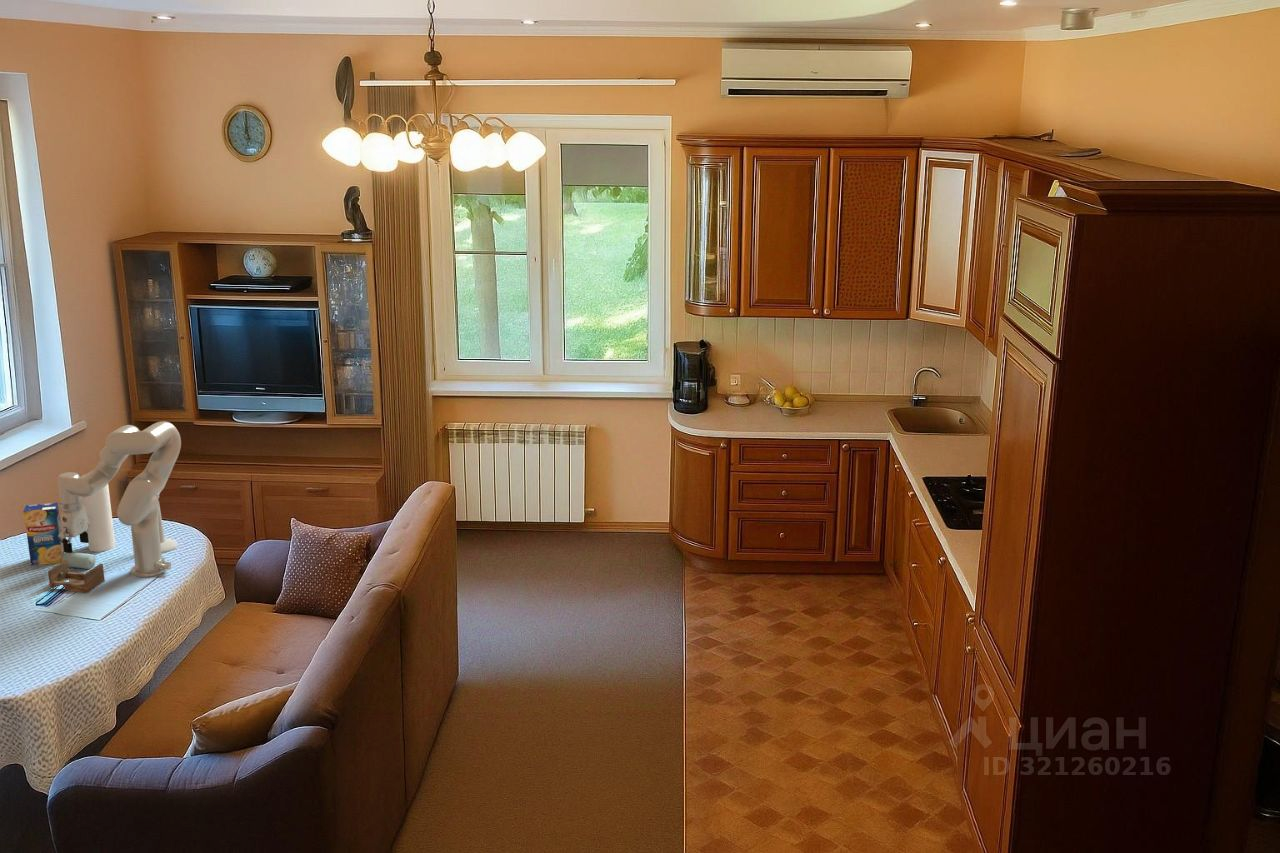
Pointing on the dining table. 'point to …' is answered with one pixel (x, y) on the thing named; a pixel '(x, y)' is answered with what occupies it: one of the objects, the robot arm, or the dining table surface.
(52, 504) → the beverage box
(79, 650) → the dining table surface
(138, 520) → the robot arm
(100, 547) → the cylinder container
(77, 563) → the roll
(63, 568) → the holder
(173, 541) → the candlestick
